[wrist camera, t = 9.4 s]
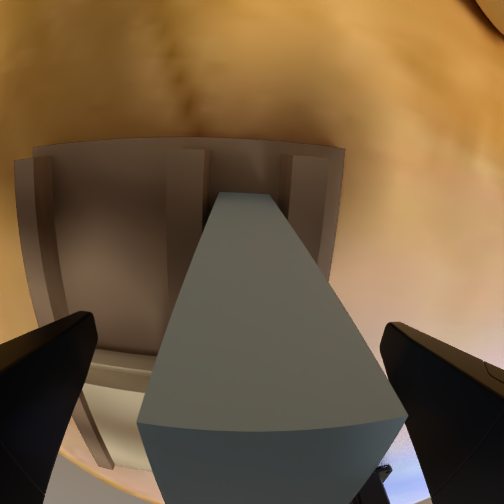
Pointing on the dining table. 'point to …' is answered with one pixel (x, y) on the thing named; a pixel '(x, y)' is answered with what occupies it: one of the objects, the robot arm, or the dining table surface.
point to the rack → (151, 227)
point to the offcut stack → (119, 403)
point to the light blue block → (263, 374)
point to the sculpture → (494, 12)
